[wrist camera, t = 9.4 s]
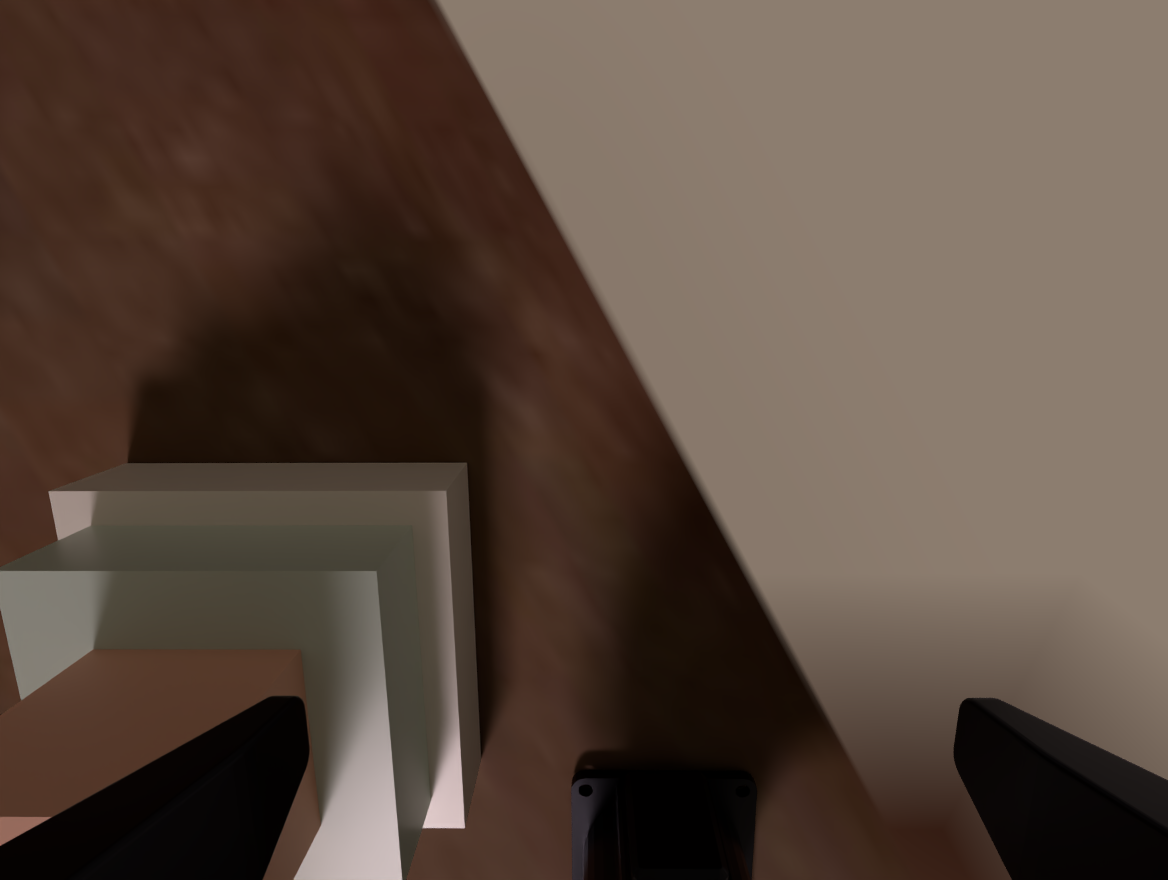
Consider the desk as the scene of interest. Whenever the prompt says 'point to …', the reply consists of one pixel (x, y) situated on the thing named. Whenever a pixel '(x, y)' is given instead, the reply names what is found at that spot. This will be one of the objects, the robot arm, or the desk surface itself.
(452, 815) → the tower base
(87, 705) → the terracotta block
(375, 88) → the desk surface
